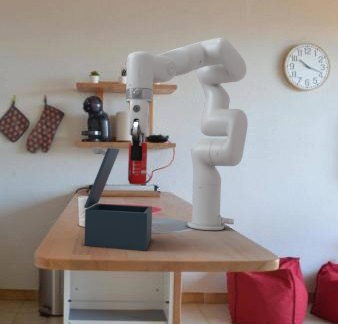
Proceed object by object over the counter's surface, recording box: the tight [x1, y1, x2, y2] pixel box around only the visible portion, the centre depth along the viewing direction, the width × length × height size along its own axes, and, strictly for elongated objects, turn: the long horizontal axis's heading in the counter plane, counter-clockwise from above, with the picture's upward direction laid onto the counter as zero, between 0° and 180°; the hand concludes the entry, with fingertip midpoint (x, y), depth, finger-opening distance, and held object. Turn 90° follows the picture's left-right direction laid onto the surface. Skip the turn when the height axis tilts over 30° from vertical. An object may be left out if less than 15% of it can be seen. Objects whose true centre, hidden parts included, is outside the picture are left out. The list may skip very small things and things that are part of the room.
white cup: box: [77, 195, 101, 228], centre depth 137 cm, size 8×8×10 cm
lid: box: [84, 146, 121, 208], centre depth 114 cm, size 18×14×6 cm
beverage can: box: [127, 141, 148, 185], centre depth 111 cm, size 5×5×12 cm
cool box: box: [83, 203, 153, 252], centre depth 112 cm, size 17×14×10 cm
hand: (137, 159), depth 111 cm, fingers closed on beverage can, 5 cm apart
